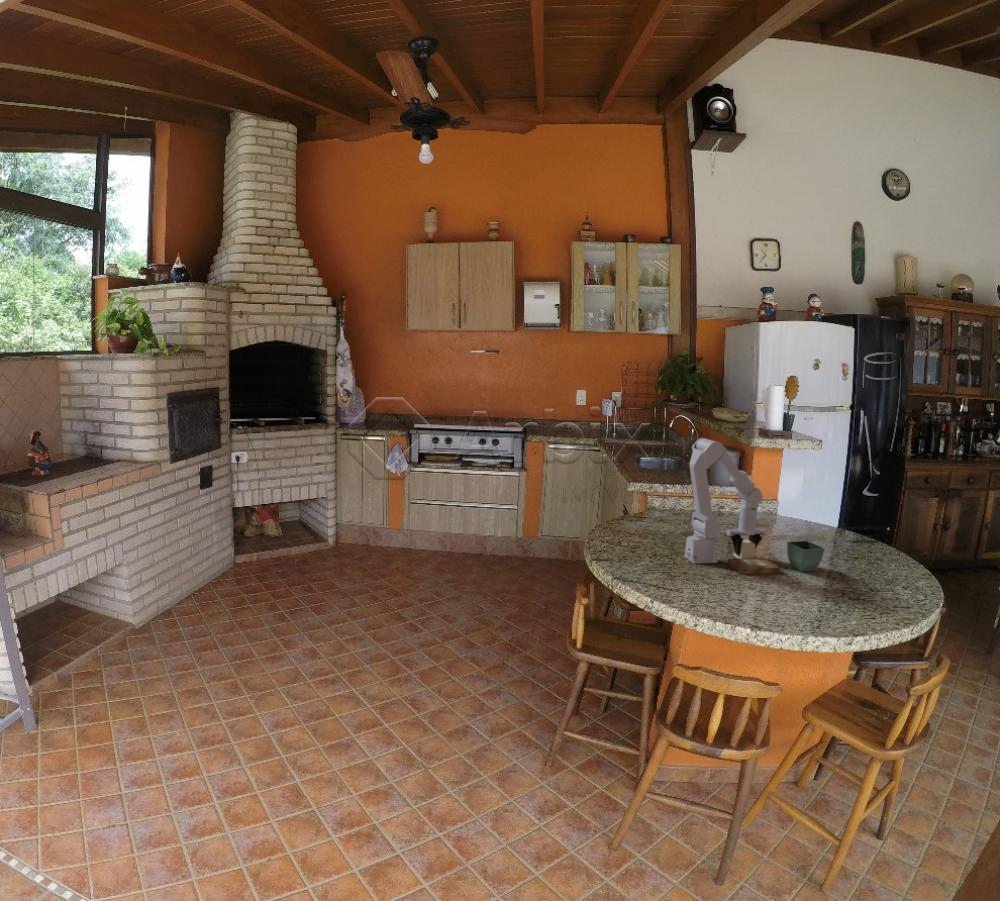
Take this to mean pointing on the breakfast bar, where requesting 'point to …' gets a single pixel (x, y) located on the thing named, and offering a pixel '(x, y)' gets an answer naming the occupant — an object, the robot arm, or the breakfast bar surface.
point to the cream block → (746, 550)
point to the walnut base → (753, 565)
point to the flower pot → (804, 555)
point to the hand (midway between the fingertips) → (744, 554)
